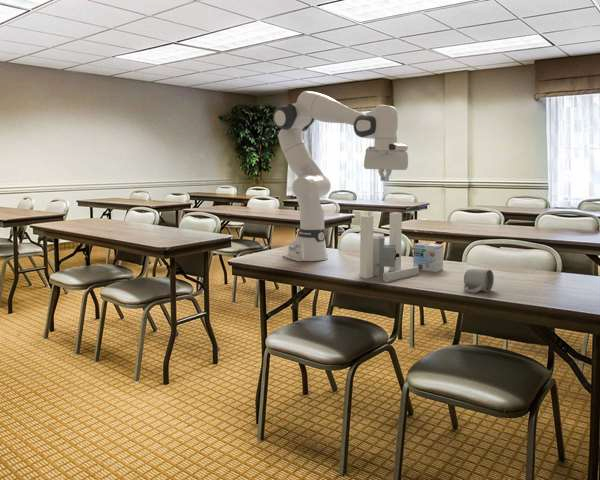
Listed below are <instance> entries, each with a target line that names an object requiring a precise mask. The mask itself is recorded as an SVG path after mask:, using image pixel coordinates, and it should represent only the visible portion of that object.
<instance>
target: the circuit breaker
mask: <svg viewBox="0 0 600 480" xmlns="http://www.w3.org/2000/svg"><path fill="white" fill-rule="evenodd" d="M385 238H386V236H385V235H373V277H374V276H377V277H383V273H385V267H387V268H389V267H395V260H396V257H399V253H396V250H395V245H389V244H385Z"/></svg>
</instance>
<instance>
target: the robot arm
mask: <svg viewBox="0 0 600 480" xmlns="http://www.w3.org/2000/svg"><path fill="white" fill-rule="evenodd" d="M397 110H398V109H397V108H396V107H395V106H393V105H386V104H377V106H376V107H375V108H374V109H372V110H371V111H369V112H365V113H364V112H360V111H358V110H355V109H353V108H350V107H349V106H347V105H345V104H343V103H342V102H339V101H338V100H336V99H334V98H332V97H330V96H328V95H326V94H323V93H320V92H316V91H310V90H305V91H302V92H301V93H300V94H299V95H298V97H297V100H296V102H295V103H292V102H291V103H290V102H289V103H287V104H283V105H281V106H279V107H277V108H276V109H275V110H274V112H273V117H272V118H273V123H274V125H275V126H276V127H277V128H279V129H280V130H279V131H278V134H277V138H278V142H279V146H280V149H281V151H282V152H283V156H284V157H285V159H286V162H287V164H288V166H289V168H290V170H291V171H292V172H294V174H295V175H296V176H297V177H298V178H296V179H295V180H294V181H293V183H292V187H291V188H292V193H293V194H294V196H295V197H296V200H297V204H298V209H299V216H300V218H299V220H300V224H299V225H300V228H299V229H296V233H298V234H297V236H296V238H294V239H293V240H291V242H290V243H289V244H288V246H287V253H284V254H282V257H283V256H284V257H283V258H286V259H290V260H293V261H296V262H319V261H320V262H321V261H324V260H325V261H326V260H328V258H329V257H328V253H327V252H328V251H327V246H326V240H325V237H326V228H325V211H324V209H323V207H322V204H321V200H320V199H321V198H323V197H325V196H326V195H327V194H329V192H330V191H331V187H332V185H331V181H330V179H329V178H328V177H327V176H325V174H324V173H323V172H322V170H321V169H320V168H319V167H318V165H317V163H316V162H315V160H314V159H313V156H312V155H311V152H310V150H309V149H308V147H307V145H306V142H305V140H304V138H303V135H302V132H306V131H307V130H308V129H309V127H310V126H311V125H313V123H314V122H315V121H319V122H322V123H328V124H345V125H351V126H353V131H354V133H355V135H356V136H358V137H359V138H362V139H371V140H373V139H374V146H368V147H367V148H366V149H365V154H364V159H363V160H364V161H363V167H364V169H365V170H378V171H377V172H378V174H379V177H380V181H381V182H389V181H390V176H391V175H392V174H391V173H392V171H401V170H402V171H406V170H407V169H408V167H409V155H408V152H407V151H408V145H407V144H404V143H402V142H398V135H397V130H398V126H399V123H398V120H399V119H398V111H397ZM384 173H385V174H384Z"/></svg>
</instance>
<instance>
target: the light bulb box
mask: <svg viewBox="0 0 600 480" xmlns="http://www.w3.org/2000/svg"><path fill="white" fill-rule="evenodd" d="M444 246H445V245H444V244H443V243H442V244H441V243H434V242H433V243H432V242H424V241H421V242H417V243H416V242H415V243H413V259H412V263H413V264H412V265H413V266H417V267H419V271H424V272H425V271H426V272H432V273H437V272H440V271H443V270H444V250H445V249H444ZM413 266H412V267H413Z"/></svg>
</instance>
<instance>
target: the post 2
mask: <svg viewBox="0 0 600 480" xmlns="http://www.w3.org/2000/svg"><path fill="white" fill-rule="evenodd" d="M402 221H403V213H402V212H398V211H397V212H389V234H388V235H389V236H388V237H389V238H388V239H389V241H388V242H389V243H388V245H395V250H396V253H399V257H396V260H395V267H388V272H391V271H395V270H400V269H402V230H403V229H402V228H403V222H402Z"/></svg>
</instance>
